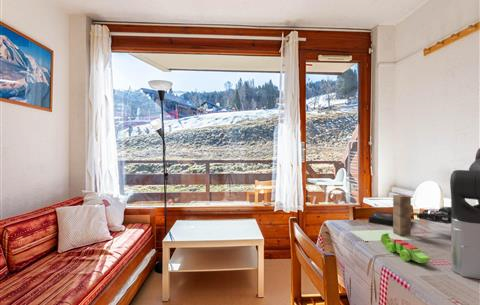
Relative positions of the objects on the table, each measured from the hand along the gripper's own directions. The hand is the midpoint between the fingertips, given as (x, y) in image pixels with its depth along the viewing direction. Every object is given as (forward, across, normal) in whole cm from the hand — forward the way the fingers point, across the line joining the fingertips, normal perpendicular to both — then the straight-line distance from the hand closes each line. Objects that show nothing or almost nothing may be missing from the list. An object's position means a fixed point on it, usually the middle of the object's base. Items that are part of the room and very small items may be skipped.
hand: (418, 215), depth 122 cm
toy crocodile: (+23, +22, +9) cm, 33 cm away
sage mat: (+16, 0, +9) cm, 19 cm away
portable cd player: (0, -21, +10) cm, 23 cm away
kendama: (-22, -28, +9) cm, 37 cm away
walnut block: (+8, 0, +9) cm, 12 cm away
